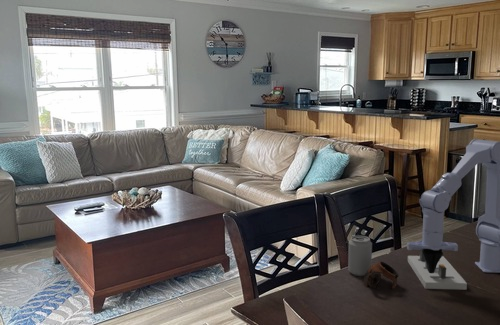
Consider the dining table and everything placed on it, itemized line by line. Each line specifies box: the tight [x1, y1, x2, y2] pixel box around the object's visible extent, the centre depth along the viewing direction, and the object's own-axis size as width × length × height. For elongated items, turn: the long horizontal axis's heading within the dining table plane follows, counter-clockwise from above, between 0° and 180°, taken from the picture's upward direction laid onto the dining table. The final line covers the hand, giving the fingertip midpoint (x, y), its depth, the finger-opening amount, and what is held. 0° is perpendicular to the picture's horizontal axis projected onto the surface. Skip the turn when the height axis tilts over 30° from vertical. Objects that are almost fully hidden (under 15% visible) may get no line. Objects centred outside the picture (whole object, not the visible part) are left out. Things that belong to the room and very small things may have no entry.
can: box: [347, 235, 373, 277], centre depth 146 cm, size 8×8×12 cm
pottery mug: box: [362, 261, 399, 290], centre depth 136 cm, size 12×10×8 cm
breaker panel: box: [407, 250, 468, 291], centre depth 144 cm, size 12×22×6 cm, turn 174°
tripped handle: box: [438, 264, 446, 278], centre depth 137 cm, size 1×3×4 cm, turn 174°
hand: (430, 272), depth 137 cm, fingers closed
